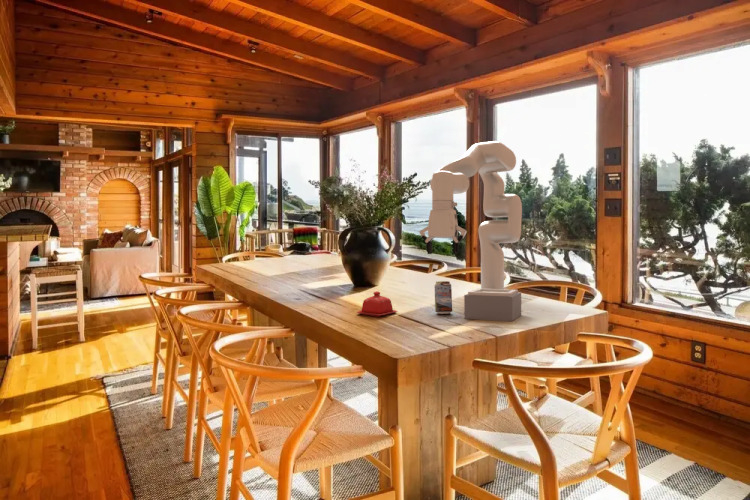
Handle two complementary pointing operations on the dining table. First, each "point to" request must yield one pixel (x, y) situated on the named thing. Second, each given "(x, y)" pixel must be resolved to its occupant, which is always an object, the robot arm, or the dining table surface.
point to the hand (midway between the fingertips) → (442, 254)
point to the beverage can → (443, 297)
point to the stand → (492, 304)
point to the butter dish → (377, 306)
